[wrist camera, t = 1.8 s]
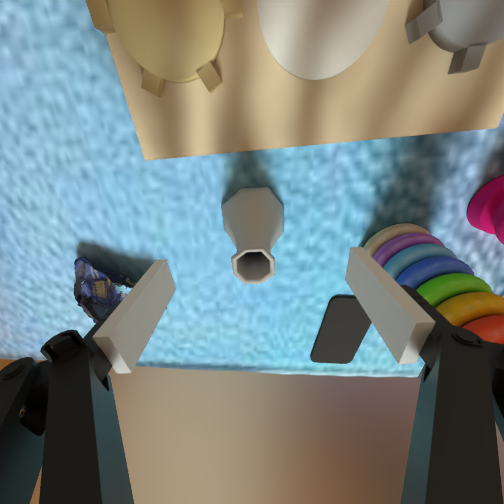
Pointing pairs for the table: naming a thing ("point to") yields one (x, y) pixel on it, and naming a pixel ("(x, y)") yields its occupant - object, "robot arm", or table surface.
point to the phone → (340, 331)
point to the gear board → (302, 70)
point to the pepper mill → (489, 208)
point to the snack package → (97, 288)
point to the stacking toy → (439, 278)
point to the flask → (253, 232)
